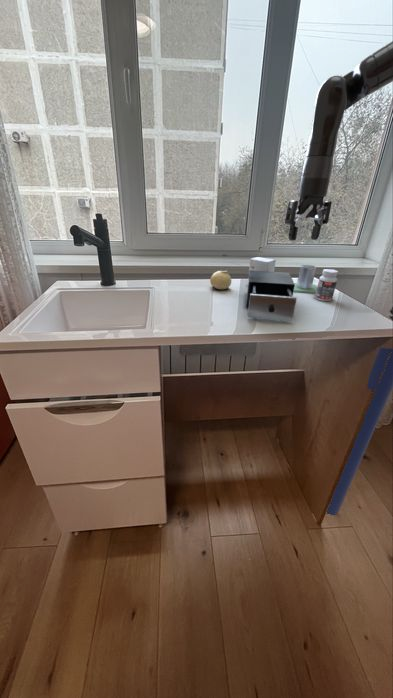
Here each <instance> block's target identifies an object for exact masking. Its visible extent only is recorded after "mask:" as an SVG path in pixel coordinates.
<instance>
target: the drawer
mask: <svg viewBox="0 0 393 698" xmlns="http://www.w3.org/2000/svg"><path fill="white" fill-rule="evenodd" d="M297 299H298V298H297V296H294V295H293V296H292V293H291V290H290V288H289V287H286V286H271V285H256V284H253V285H252V294H250V301H249V308H248V310H247V318H248V319H257V320H258V319H259V320H271V321H281V322H282V321H283V322H293V320H294V319H293V318H294V313H295V309H296V305H297V304H296V303H297Z"/></svg>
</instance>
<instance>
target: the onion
mask: <svg viewBox="0 0 393 698" xmlns="http://www.w3.org/2000/svg"><path fill="white" fill-rule="evenodd" d="M209 280H210V281H209V282H210V285H211V286H212V288H214V289H217V290H219V291H220V290H221V291H222V290H227V289H228V288H229V287H231V285H232V277H231V275H230V274H229V272H228V269H226V270H217V271H215V272H213V274H212V275H211V276H210V279H209Z"/></svg>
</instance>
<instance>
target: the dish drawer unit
mask: <svg viewBox="0 0 393 698" xmlns="http://www.w3.org/2000/svg"><path fill="white" fill-rule="evenodd" d="M248 278H249V279H247V289H246V303H245V308H246V309H249V301H250V294H252V285H253V284H256V285H271V286H286V287H289V288H290V290H291V293H292V296H293V297H294V292H293V291H294V286H295V284H294V283H295V282H294V280H293V277H292V276H291V273H290V272H286V271H285V272H283V271H274V272H269V271H253V270H249V269H248Z"/></svg>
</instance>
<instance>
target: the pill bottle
mask: <svg viewBox="0 0 393 698" xmlns="http://www.w3.org/2000/svg"><path fill="white" fill-rule="evenodd" d="M338 274H339V270H336V269H331V268H326V269H325V268H324V269H323V270H322V275H321V276H319V279H318V283H317V285H316V287H317V291H316V293H315V295H314V298H315V299H316V300H318V301H322V302H330V301H332V300H333V298H334V294H335V290H336V287H337V283H338V278H337V276H338Z"/></svg>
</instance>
